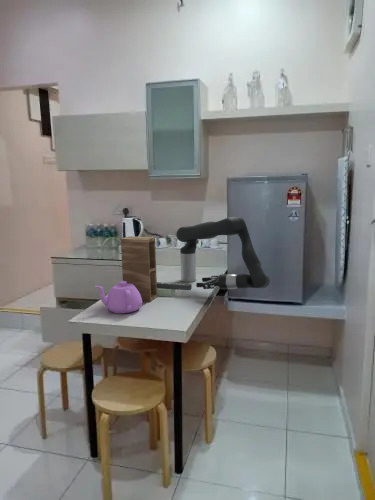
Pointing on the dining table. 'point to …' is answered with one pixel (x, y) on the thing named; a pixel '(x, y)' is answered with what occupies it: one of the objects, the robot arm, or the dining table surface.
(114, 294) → the teapot
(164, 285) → the domino bar
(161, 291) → the green block
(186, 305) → the dining table surface
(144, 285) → the shelf tower
